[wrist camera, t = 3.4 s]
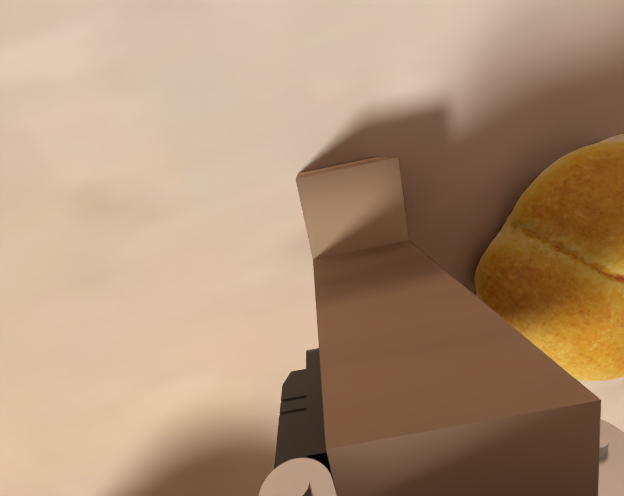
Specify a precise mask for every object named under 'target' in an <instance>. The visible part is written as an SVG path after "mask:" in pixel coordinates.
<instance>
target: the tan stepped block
mask: <svg viewBox="0 0 624 496" xmlns="http://www.w3.org/2000/svg"><path fill="white" fill-rule="evenodd" d="M296 182H297V187H298V192H299V196H300V201H301V206H302V210H303V215H304V220H305V224H306V229H307V234H308V238H309V243H310V248H311V252H312V257H313V266H314V281H315V295H316V310H317V325H318V339H319V354H320V369H321V384H322V398H323V413H324V428H325V442H326V452H327V456H328V460H329V464H330V468H331V472H332V476H333V481H334V485H335V489H336V493H337V496H598V482H599V448H600V413H601V400H600V399H599V398H598V397H597V396H595V395H594V394H593V393H592V392H591V391H589V390H588V389H587V388H586V387H585V386H583V385H582V384H581V383H580V382H579V381H577V380H576V379H575V378H574V377H573V376H571V375H570V374H569V373H568V372H567V371H565V370H564V369H563V368H562V367H561V366H559V365H558V364H557V363H556V362H555V361H553V360H552V359H551V358H550V357H549V356H547V355H546V354H545V353H544V352H543V351H541V350H540V349H539V348H538V347H537V346H535V345H534V344H533V343H532V342H531V341H529V340H528V339H527V338H526V337H525V336H523V335H522V334H521V333H520V332H519V331H517V330H516V329H515V328H514V327H513V326H511V325H510V324H509V323H508V322H507V321H505V320H504V319H503V318H502V317H501V316H499V315H498V314H497V313H496V312H495V311H493V310H492V309H491V308H490V307H489V306H487V305H486V304H485V303H484V302H483V301H481V300H480V299H479V298H478V297H477V296H475V295H474V294H473V293H472V292H471V291H469V290H468V289H467V288H466V287H465V286H463V285H462V284H461V283H460V282H459V281H457V280H456V279H455V278H454V277H453V276H451V275H450V274H449V273H448V272H447V271H445V270H444V269H443V268H442V267H441V266H439V265H438V264H437V263H436V262H435V261H433V260H432V259H431V258H430V257H429V256H427V255H426V254H425V253H424V252H423V251H421V250H420V249H419V248H418V247H417V246H415V245H414V244H413V243H412V242H411V241H409V236H408V228H407V220H406V213H405V205H404V198H403V190H402V183H401V175H400V167H399V160H398V157H374V158H369V159H364V160H359V161H355V162H350V163H345V164H340V165H336V166H331V167H326V168H321V169H317V170H312V171H307V172H303V173H298V175H297V177H296Z"/></svg>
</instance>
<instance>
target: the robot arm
mask: <svg viewBox="0 0 624 496" xmlns="http://www.w3.org/2000/svg"><path fill="white" fill-rule="evenodd" d="M259 496H337V493H336V489H335V485H334V481H333V476H332V472H331V468H330V464H329V460H328V456H327V452H326V442H325V428H324V413H323V398H322V384H321V369H320V354H319V348H317V349H312V350H307V351H306V369H303V370H298V371H292V372H291V373H290V374H289V376H288V377H287V379H286V381H285V382H284V384H283V386H282V396H281V406H280V416H279V426H278V436H277V446H276V456H275V466H274V470H273V471H272V472H271V473H270V474H269V475H268V476H267V478H266V479H265V481H264V482H263V484H262V486H261V489H260V491H259ZM598 496H624V432H623V431H621V430H620V429H618V428H617V427H615V426H614V425H612V424H610V423H608V422H606V421H604V420H601V419H600V448H599V482H598Z"/></svg>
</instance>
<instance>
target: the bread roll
mask: <svg viewBox="0 0 624 496" xmlns="http://www.w3.org/2000/svg"><path fill="white" fill-rule="evenodd" d="M474 279H475V288H476V293H477V297H478V298H479V299H480V300H481V301H483V302H484V303H485V304H486V305H487V306H489V307H490V308H491V309H492V310H493V311H495V312H496V313H497V314H498V315H499V316H501V317H502V318H503V319H504V320H505V321H507V322H508V323H509V324H510V325H511V326H513V327H514V328H515V329H516V330H517V331H519V332H520V333H521V334H522V335H523V336H525V337H526V338H527V339H528V340H529V341H531V342H532V343H533V344H534V345H535V346H537V347H538V348H539V349H540V350H541V351H543V352H544V353H545V354H546V355H547V356H549V357H550V358H551V359H552V360H553V361H555V362H556V363H557V364H558V365H559V366H561V367H562V368H563V369H564V370H565V371H567V372H568V373H569V374H570V375H571V376H573V377H574V378H575V379H577V380H583V381H601V380H610V379H616V378H620V377H624V133H623V134H619V135H615V136H612V137H609V138H607V139H605V140H602V141H600V142H598V143H595V144H591V145H587V146H584V147H581V148H579V149H577V150H575V151H572V152H570V153H568V154H566V155H564V156H563V157H561V158H559V159H557V160H556V161H555V162H554V163H552V164H551V165H550V166H549V167H547V168H546V169H545V170H544V171H543V172H542V173H541V174H540V175H539V176H538V177H537V178H536V179H535V180H534V181H533V182H532V183H531V185H530V186H529V187H528V188H527V189H526V190H525V192H524V193H523V194H522V195H521V197H520V198H519V200H518V201H517V203H516V205H515V207H514V209H513V210H512V212H511V214H510V215H509V216H508V218H507V221H506V222H505V224H504V225H503V227H502V229H501V231H500V232H499V233H498V234H497V235H496V237H495V238H494V239H493V240H492V242H491V243H490V245H489V246H488V248H487V250H486V251H485V252H484V254H483V255H482V257H481V259H480V262H479V264H478V266H477V268H476V271H475V276H474Z"/></svg>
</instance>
